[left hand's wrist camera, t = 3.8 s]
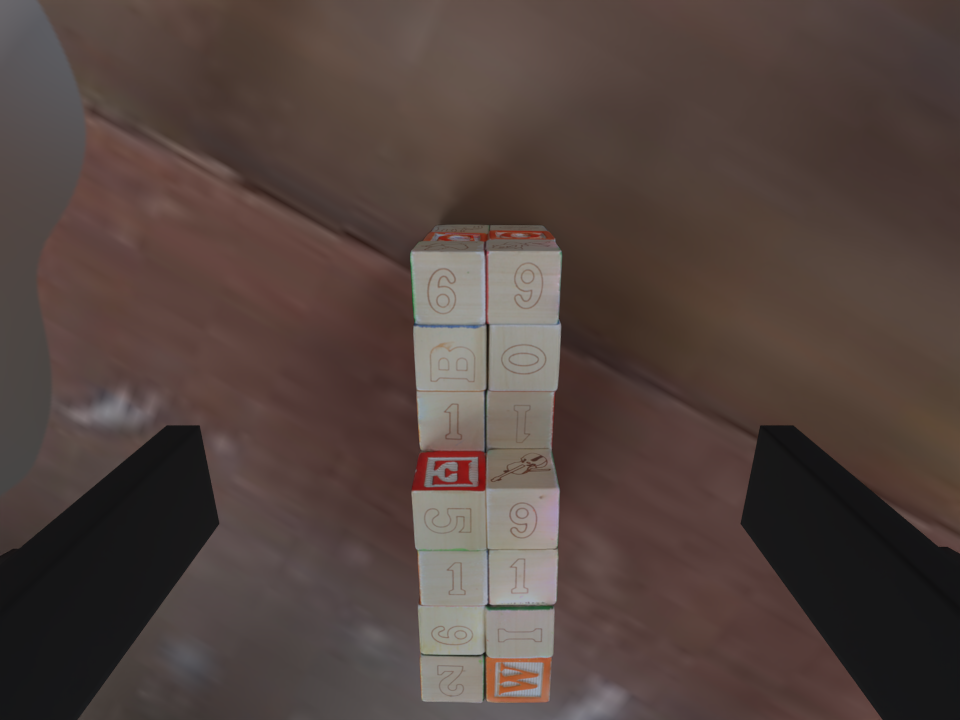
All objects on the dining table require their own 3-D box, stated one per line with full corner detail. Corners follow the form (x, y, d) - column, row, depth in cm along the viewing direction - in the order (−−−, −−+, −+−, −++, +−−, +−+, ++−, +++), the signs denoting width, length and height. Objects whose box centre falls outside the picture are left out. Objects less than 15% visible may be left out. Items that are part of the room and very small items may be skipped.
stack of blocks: (431, 222, 30) (397, 261, 18) (544, 223, 30) (581, 261, 18) (440, 538, 37) (419, 707, 26) (530, 539, 37) (550, 709, 26)
